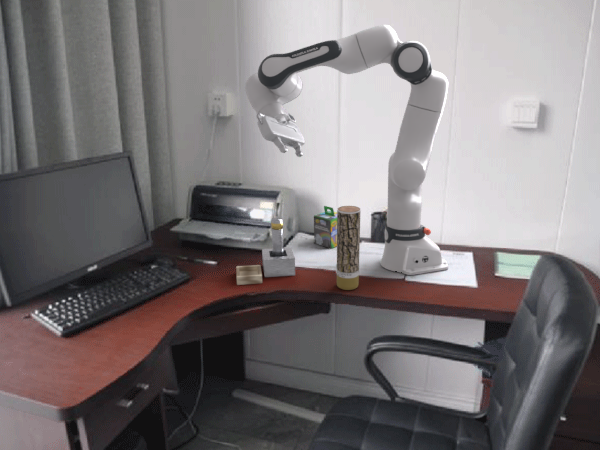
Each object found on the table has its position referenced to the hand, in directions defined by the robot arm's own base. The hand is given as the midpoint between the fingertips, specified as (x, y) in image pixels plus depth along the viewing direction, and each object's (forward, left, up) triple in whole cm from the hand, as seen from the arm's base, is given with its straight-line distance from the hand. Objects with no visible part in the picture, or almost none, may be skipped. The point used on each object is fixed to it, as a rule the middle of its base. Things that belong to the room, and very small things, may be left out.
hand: (292, 153), depth 157 cm
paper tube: (-14, +16, -39) cm, 45 cm away
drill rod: (+6, 0, -39) cm, 39 cm away
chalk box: (-16, -23, -39) cm, 49 cm away
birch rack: (+16, +5, -39) cm, 42 cm away
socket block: (+6, 0, -39) cm, 39 cm away
